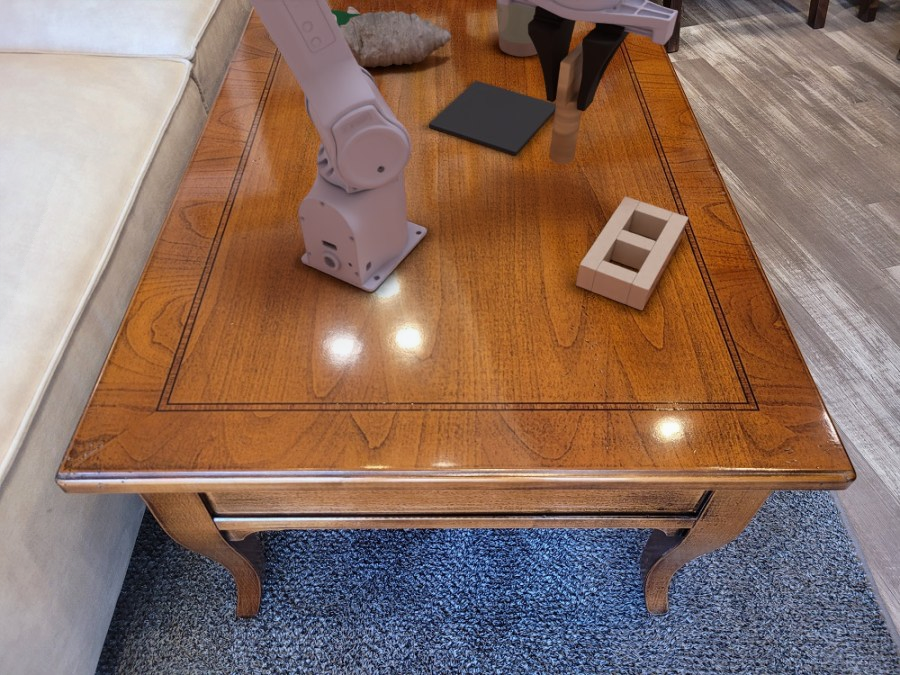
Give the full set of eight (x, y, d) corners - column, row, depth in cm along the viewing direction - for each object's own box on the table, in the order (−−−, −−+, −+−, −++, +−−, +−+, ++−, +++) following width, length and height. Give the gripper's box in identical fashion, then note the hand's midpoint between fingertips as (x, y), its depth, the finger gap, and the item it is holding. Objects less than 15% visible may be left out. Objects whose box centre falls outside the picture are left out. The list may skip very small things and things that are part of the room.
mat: (515, 156, 73) (516, 152, 72) (428, 127, 76) (428, 123, 76) (558, 108, 79) (558, 104, 79) (475, 84, 83) (475, 80, 82)
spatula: (562, 174, 63) (578, 66, 55) (539, 166, 64) (552, 59, 56) (583, 148, 66) (601, 42, 58) (560, 141, 67) (575, 36, 59)
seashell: (457, 50, 82) (429, -16, 77) (358, 98, 85) (325, 37, 80) (452, 37, 87) (426, -27, 82) (359, 82, 90) (328, 23, 85)
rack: (681, 238, 64) (689, 216, 62) (642, 311, 58) (649, 290, 56) (619, 217, 66) (625, 195, 64) (575, 285, 60) (579, 264, 58)
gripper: (706, -66, 50) (663, 102, 60) (530, -100, 55) (517, 61, 65) (675, -33, 46) (634, 141, 56) (488, -73, 51) (482, 94, 61)
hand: (569, 101), depth 61 cm, fingers closed on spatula, 2 cm apart
